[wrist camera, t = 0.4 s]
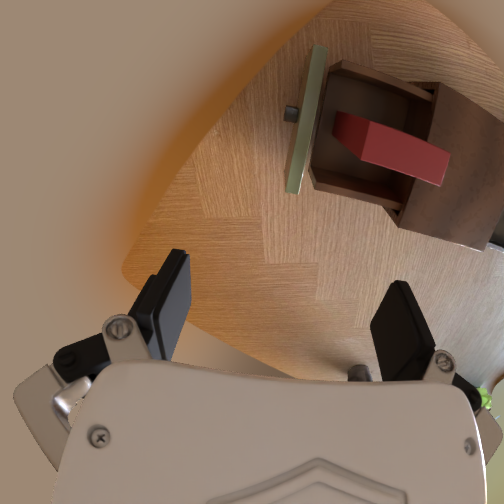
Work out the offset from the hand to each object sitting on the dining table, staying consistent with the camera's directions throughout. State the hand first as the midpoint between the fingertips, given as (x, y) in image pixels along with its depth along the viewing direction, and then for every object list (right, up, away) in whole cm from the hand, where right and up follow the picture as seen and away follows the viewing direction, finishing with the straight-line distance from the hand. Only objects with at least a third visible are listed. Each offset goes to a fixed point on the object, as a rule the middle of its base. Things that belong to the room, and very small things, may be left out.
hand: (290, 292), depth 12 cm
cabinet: (+21, +14, +14) cm, 29 cm away
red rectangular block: (+10, +14, +13) cm, 22 cm away
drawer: (+8, +15, +14) cm, 22 cm away
